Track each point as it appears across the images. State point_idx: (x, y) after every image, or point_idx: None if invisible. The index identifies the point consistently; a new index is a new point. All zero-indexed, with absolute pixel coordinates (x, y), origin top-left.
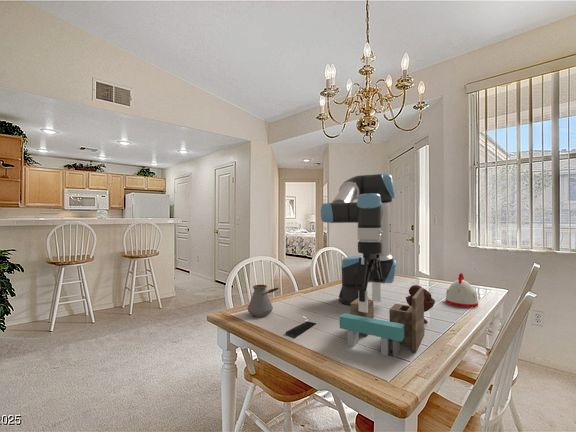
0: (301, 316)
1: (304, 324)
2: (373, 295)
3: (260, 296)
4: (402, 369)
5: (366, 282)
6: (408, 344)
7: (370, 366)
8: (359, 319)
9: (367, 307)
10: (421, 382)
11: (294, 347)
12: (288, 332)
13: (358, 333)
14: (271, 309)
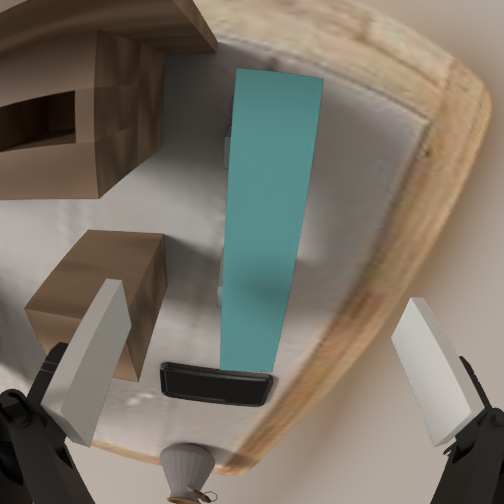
0: (136, 406)
1: (185, 395)
2: (118, 349)
3: (196, 485)
4: (347, 79)
5: (500, 467)
6: (158, 76)
7: (367, 177)
8: (275, 306)
9: (429, 318)
10: (398, 32)
11: (322, 368)
12: (255, 402)
13: (221, 270)
14: (179, 451)
